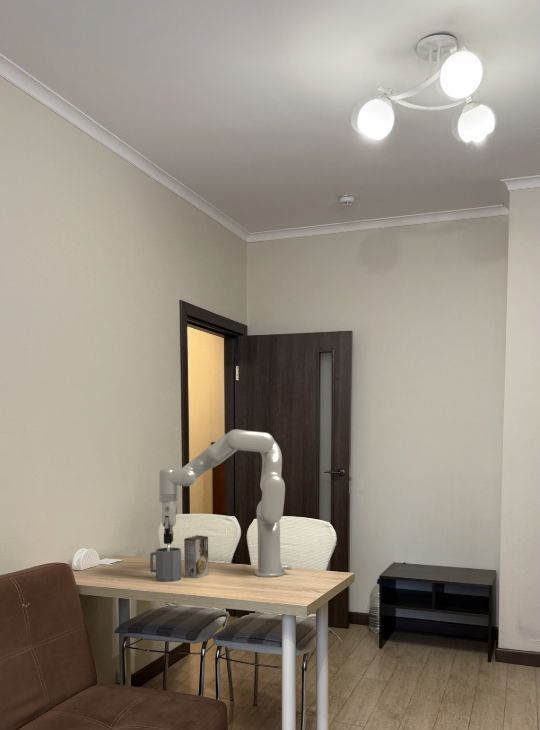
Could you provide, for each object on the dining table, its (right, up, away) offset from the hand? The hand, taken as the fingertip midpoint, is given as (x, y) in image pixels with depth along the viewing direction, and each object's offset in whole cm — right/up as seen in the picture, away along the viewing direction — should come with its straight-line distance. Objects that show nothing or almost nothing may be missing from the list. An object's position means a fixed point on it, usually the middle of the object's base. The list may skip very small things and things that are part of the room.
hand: (168, 542), depth 289 cm
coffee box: (+11, -16, +4) cm, 20 cm away
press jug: (-1, -15, -1) cm, 15 cm away
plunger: (0, -12, -1) cm, 12 cm away
